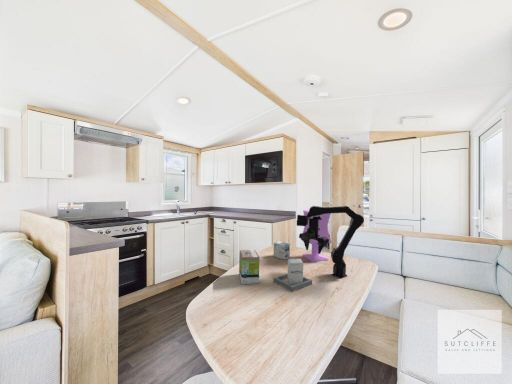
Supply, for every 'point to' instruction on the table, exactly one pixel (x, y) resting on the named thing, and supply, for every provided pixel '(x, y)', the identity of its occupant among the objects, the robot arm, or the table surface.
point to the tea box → (249, 266)
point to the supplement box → (295, 271)
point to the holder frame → (290, 287)
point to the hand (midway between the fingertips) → (313, 251)
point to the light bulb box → (281, 250)
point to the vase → (322, 232)
